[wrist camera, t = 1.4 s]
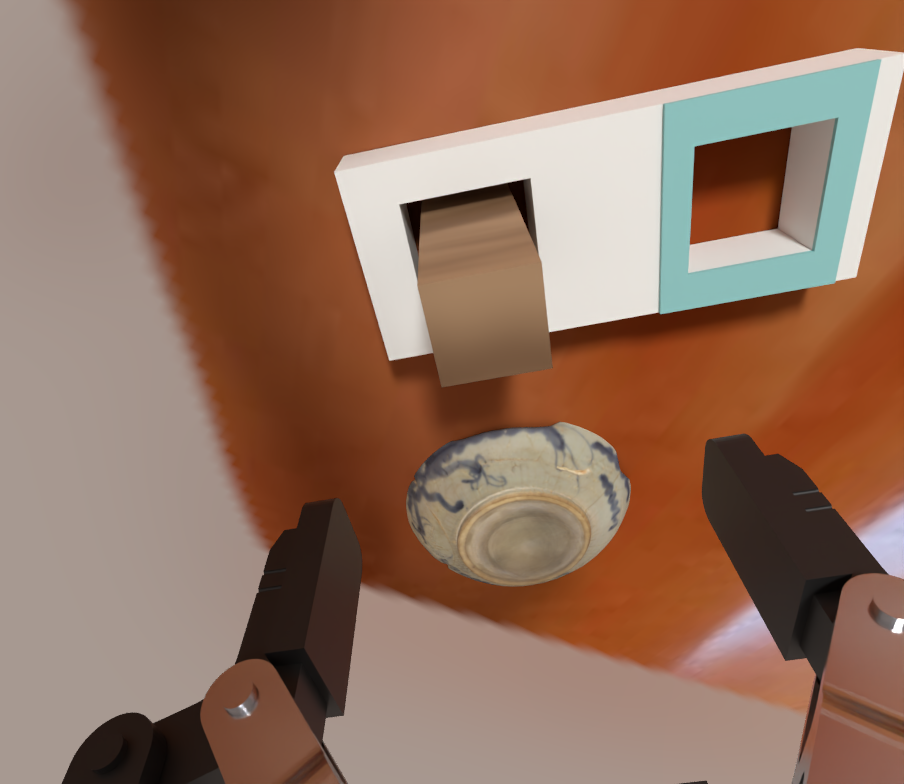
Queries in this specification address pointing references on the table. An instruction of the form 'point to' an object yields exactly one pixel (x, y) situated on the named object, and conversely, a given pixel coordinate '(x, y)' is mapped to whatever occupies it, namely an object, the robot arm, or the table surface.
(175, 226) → the table surface
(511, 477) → the decorative bowl
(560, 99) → the table surface
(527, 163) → the socket rail
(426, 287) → the walnut peg
